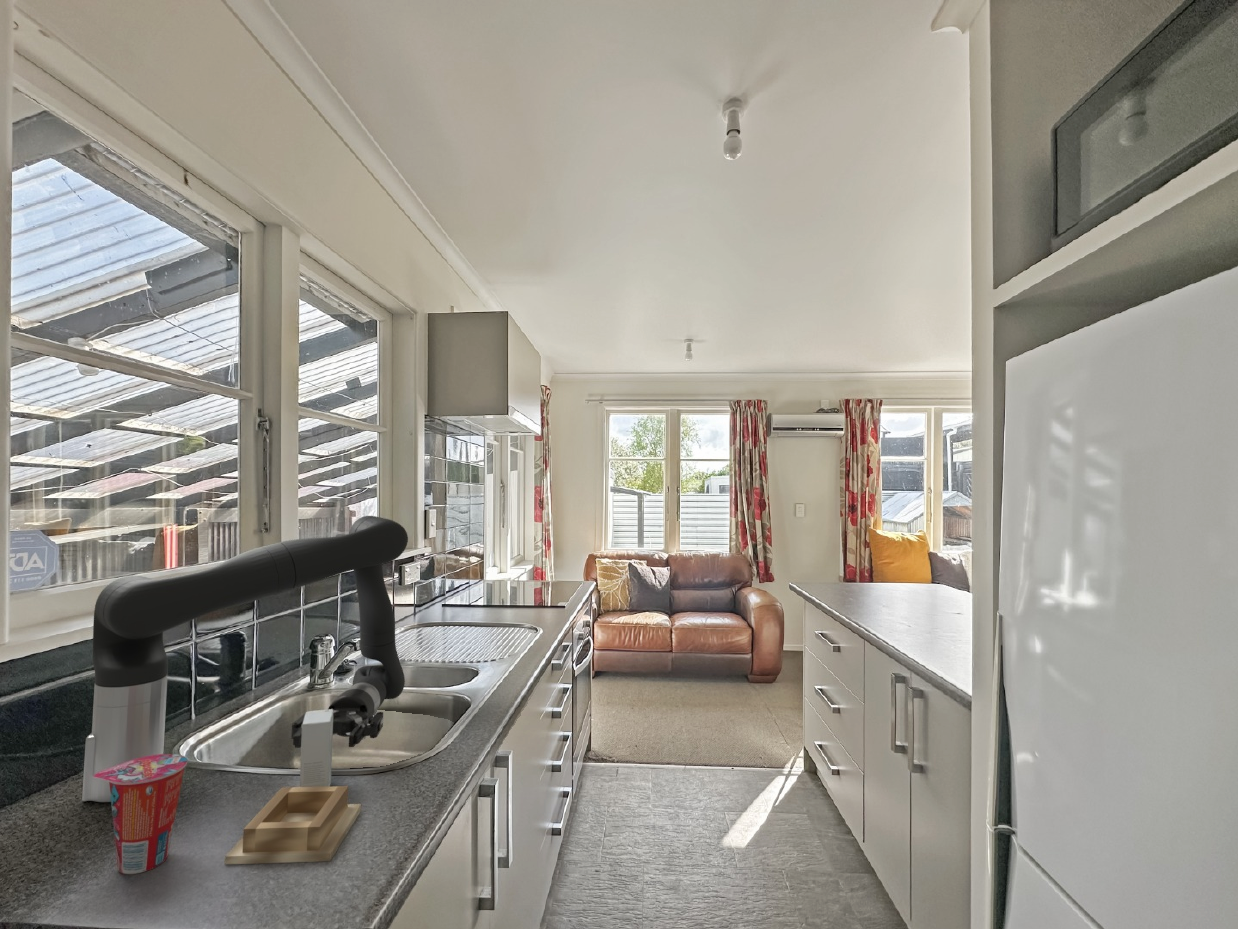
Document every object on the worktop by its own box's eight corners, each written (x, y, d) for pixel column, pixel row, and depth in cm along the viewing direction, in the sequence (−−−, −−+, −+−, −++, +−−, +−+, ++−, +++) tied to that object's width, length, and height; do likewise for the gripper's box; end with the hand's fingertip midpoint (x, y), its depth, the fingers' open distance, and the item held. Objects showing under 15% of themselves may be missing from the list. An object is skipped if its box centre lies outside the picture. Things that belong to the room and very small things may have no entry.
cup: (171, 836, 87) (175, 748, 87) (192, 860, 82) (197, 766, 82) (83, 867, 80) (89, 770, 80) (100, 895, 74) (106, 791, 75)
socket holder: (224, 864, 81) (226, 832, 81) (270, 813, 94) (271, 785, 94) (330, 861, 82) (331, 829, 82) (360, 810, 95) (362, 783, 95)
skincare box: (302, 785, 103) (305, 710, 103) (331, 782, 104) (334, 708, 105) (297, 803, 97) (301, 724, 97) (328, 799, 98) (331, 721, 99)
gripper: (316, 688, 120) (279, 719, 103) (394, 688, 121) (369, 718, 105) (314, 728, 119) (277, 766, 103) (392, 727, 121) (368, 764, 105)
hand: (324, 741), depth 104 cm, fingers open, 8 cm apart
